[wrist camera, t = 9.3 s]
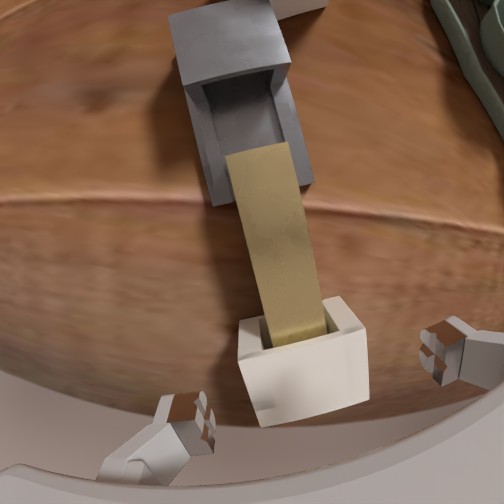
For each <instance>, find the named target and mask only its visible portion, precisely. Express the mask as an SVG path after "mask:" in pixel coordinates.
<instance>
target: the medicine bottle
mask: <svg viewBox="0 0 504 504" xmlns="http://www.w3.org/2000/svg"><path fill="white" fill-rule="evenodd" d="M269 1H270V4H271V6H272V9H273V12H274V14H275V17H276V19H277V21H278V20H281V19H284V18H287V17H290V16H294V15H297V14H300V13H304V12H308V11H311V10H315V9H319V8H323V7H326V6H327V5H328V3H329V1H330V0H269Z"/></svg>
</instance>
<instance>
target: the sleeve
mask: <svg viewBox="0 0 504 504" xmlns="http://www.w3.org/2000/svg"><path fill="white" fill-rule="evenodd" d="M168 20H169V24H170V29H171V34H172V39H173V44H174V48H175V53H176V58H177V62H178V67H179V71H180V76H181V80H182V85H183V87H184V91H185V95H186V99H187V104H188V108H189V112H190V117H191V121H192V125H193V129H194V133H195V138H196V142H197V146H198V150H199V154H200V158H201V162H202V166H203V170H204V174H205V178H206V182H207V186H208V190H209V194H210V198H211V202H212V206H213V207H214V206H218V205H223V204H227V203H231V202H233V201H236V198H235V194H234V191H233V187H232V183H231V179H230V175H229V171H228V167H227V163H226V159H225V156H226V155H230V154H234V153H238V152H242V151H247V150H251V149H255V148H260V147H264V146H269V145H273V144H278V143H283V142H288V144H289V148H290V152H291V156H292V160H293V164H294V168H295V173H296V177H297V181H298V185H299V186H303V185H307V184H310V183H315V182H314V178H313V174H312V169H311V165H310V161H309V157H308V153H307V149H306V145H305V141H304V137H303V133H302V130H301V126H300V122H299V119H298V115H297V111H296V108H295V104H294V101H293V97H292V94H291V91H290V87H289V84H288V81H287V77H286V75H287V72H288V70H289V67H290V65H291V59H290V56H289V53H288V50H287V47H286V44H285V41H284V39H283V36H282V33H281V30H280V28H279V25H278V22H277V19H276V17H275V14H274V12H273V9H272V6H271V4H270V1H269V0H229V1H224V2H219V3H214V4H210V5H206V6H202V7H198V8H194V9H190V10H186V11H183V12H179V13H176V14H173V15H169V16H168Z"/></svg>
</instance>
